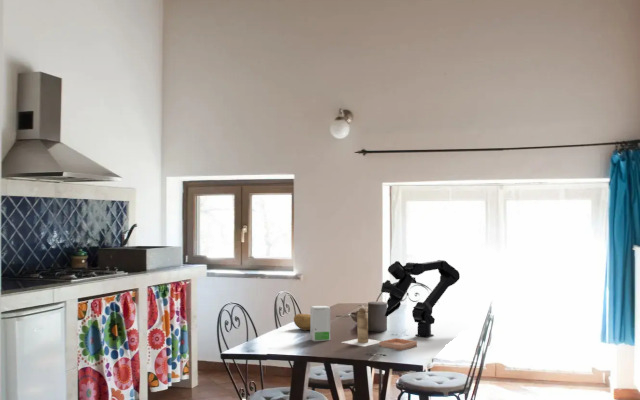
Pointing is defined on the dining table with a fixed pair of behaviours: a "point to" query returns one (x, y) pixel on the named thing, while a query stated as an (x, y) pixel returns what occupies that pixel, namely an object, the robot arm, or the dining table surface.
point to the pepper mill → (362, 326)
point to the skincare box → (320, 323)
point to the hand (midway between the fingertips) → (386, 313)
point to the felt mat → (355, 342)
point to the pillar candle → (377, 316)
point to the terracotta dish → (398, 344)
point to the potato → (302, 321)
